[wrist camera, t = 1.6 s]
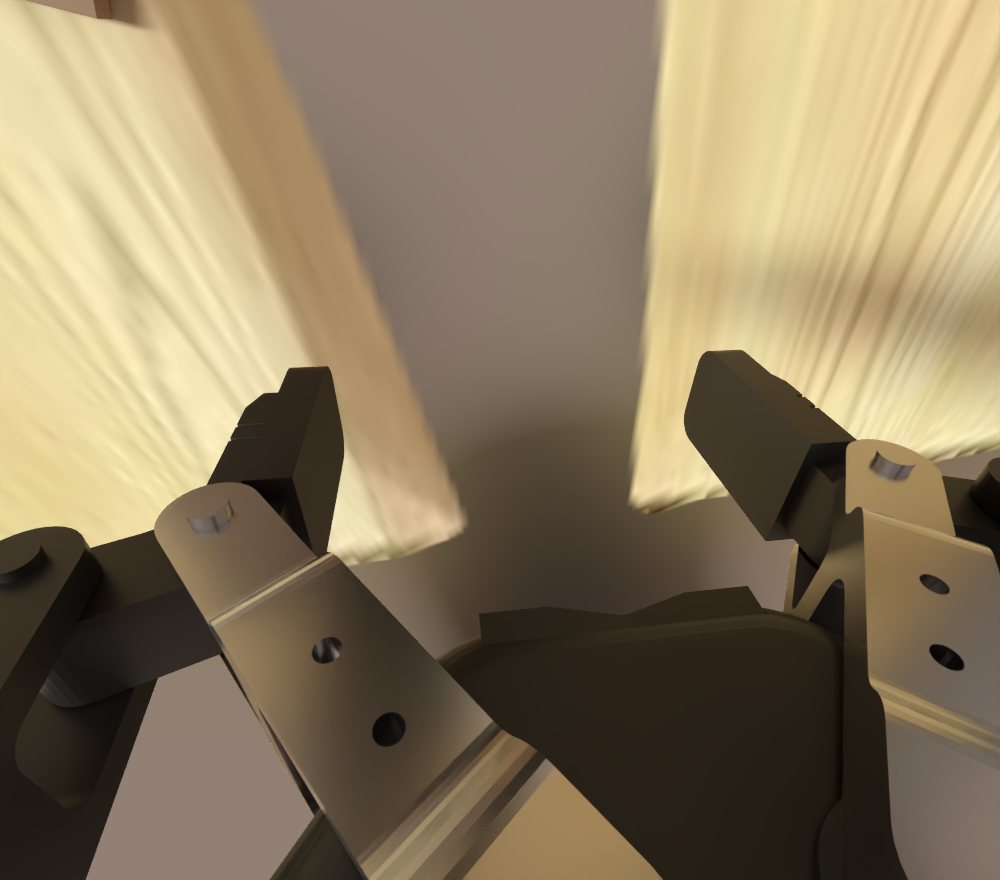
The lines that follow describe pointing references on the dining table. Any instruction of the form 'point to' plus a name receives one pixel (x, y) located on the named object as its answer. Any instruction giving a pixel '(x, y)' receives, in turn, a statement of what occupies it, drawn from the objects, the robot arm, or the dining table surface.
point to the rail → (81, 7)
